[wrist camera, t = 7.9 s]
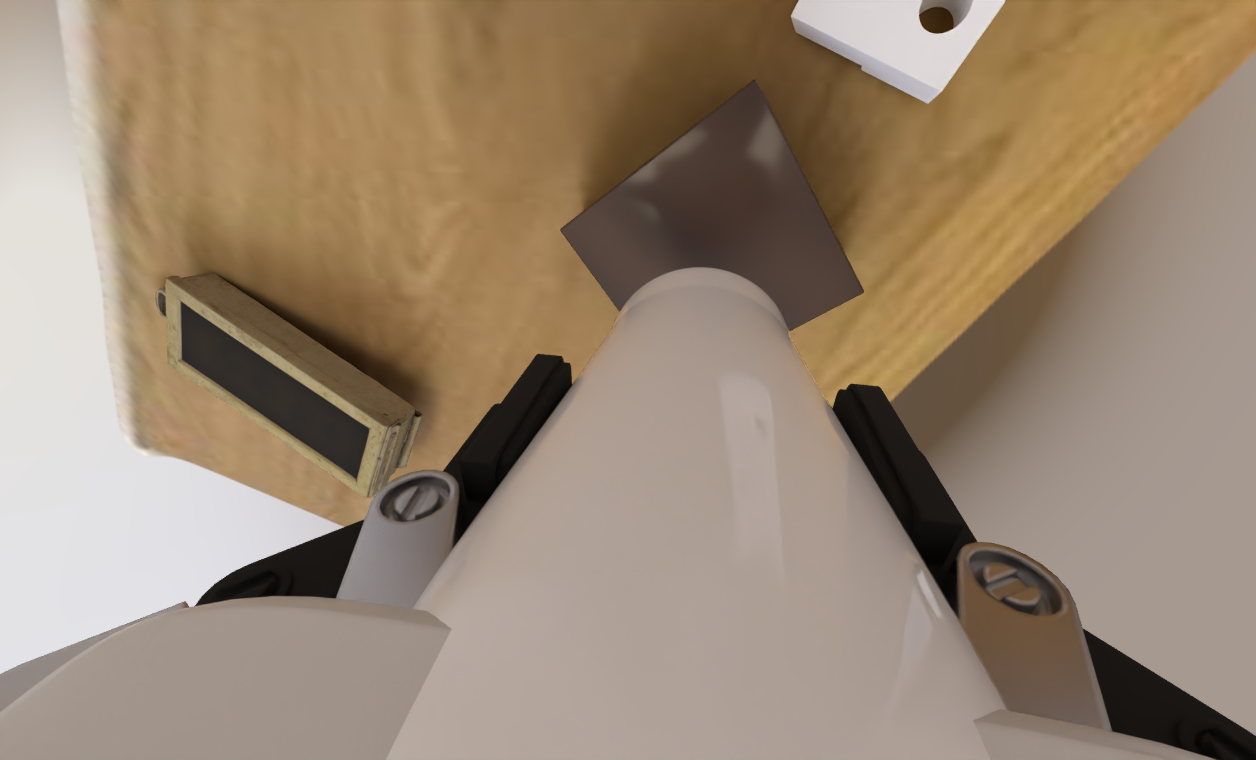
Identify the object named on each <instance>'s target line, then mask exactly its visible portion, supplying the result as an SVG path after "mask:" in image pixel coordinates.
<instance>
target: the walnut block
mask: <svg viewBox="0 0 1256 760" xmlns="http://www.w3.org/2000/svg"><path fill="white" fill-rule="evenodd" d="M560 230H561V232H562V234H563V235H564V236H565V238H566V239H567V240H568V242H569V243H570V244H571V246H572V247H573V249H574V250H575V251H576V253H577V254H578V255H579V257H580V258H581V260H582V261H583V262H584V264H585V265H586V266H587V268H588V269H589V270H590V272H591V273H592V275H593V276H594V277H595V279H596V280H597V281H598V283H599V284H600V286H601V287H602V288H603V290H604V291H605V292H606V294H607V295H608V296H609V298H610V299H611V301H612V302H613V303H614V305H615V306H616V307H617V309H618V310H619V311H620V310H621V309H622V307H623V306H624V305H625V303H626V302H627V301H628V299H629V298H630V297H631V296H632V295H633V294H634V293H635V292H636V291H637V290H638V289H640V288H641V287H642V286H644V285H645V284H646V283H648V282H649V281H651V280H653V279H655V278H656V277H659V276H661V275H663V274H665V273H668V272H671V271H675V270H679V269H684V268H692V267H708V268H716V269H722V270H725V271H729V272H732V273H735V274H738V275H740V276H742V277H744V278H746V279H748V280H749V281H751V282H753V283H754V284H756V285H757V286H758V287H759V288H761V289H762V290H763V291H764V292H765V293H766V294H767V295H768V296H769V297H770V298H771V299H772V300H773V301H774V303H775V304H776V306H777V307H778V309H779V310H780V312H781V313H782V315H783V317H784V319H785V321H786V324H787V327H788V329H789V331H791V330H793V329H795V328H797V327H798V326H800V325H802V324H804V323H806V322H808V321H810V320H812V319H814V318H816V317H818V316H820V315H822V314H824V313H825V312H827V311H829V310H831V309H833V308H835V307H837V306H839V305H841V304H843V303H845V302H847V301H849V300H851V299H852V298H854V297H856V296H858V295H860V294H862V293H863V292H864V290H863V288H862V286H861V284H860V282H859V280H858V278H857V276H856V274H855V272H854V270H853V268H852V266H851V264H850V262H849V261H848V259H847V257H846V255H845V253H844V251H843V249H842V247H841V245H840V243H839V241H838V239H837V237H836V235H835V233H834V231H833V229H832V227H831V225H830V223H829V221H828V220H827V218H826V216H825V214H824V212H823V210H822V208H821V206H820V204H819V202H818V200H817V198H816V196H815V194H814V192H813V190H812V188H811V186H810V184H809V182H808V180H807V179H806V177H805V175H804V173H803V171H802V169H801V167H800V165H799V163H798V161H797V159H796V157H795V155H794V153H793V151H792V149H791V147H790V145H789V143H788V141H787V139H786V138H785V136H784V134H783V132H782V130H781V128H780V126H779V124H778V122H777V120H776V118H775V116H774V114H773V112H772V110H771V108H770V106H769V104H768V102H767V100H766V98H765V96H764V95H763V93H762V91H761V89H760V87H759V85H758V83H757V81H756V80H753V81H751V82H750V83H749V84H747V85H746V86H745V87H744V88H742V89H741V90H740V91H738V92H737V93H736V94H735V95H733V96H732V97H731V98H729V99H728V100H727V101H725V102H724V103H723V104H722V105H720V106H719V107H718V108H716V109H715V110H714V111H713V112H711V113H710V114H709V115H707V116H706V117H705V118H703V119H702V120H701V121H700V122H698V123H697V124H696V125H694V126H693V127H692V128H690V129H689V130H688V131H687V132H685V133H684V134H683V135H681V136H680V137H679V138H678V139H676V140H675V141H674V142H672V143H671V144H670V145H668V146H667V147H666V148H665V149H663V150H662V151H661V152H659V153H658V154H657V155H655V156H654V157H653V158H652V159H650V160H649V161H648V162H646V163H645V164H644V165H643V166H641V167H640V168H639V169H637V170H636V171H635V172H633V173H632V174H631V175H630V176H628V177H627V178H626V179H624V180H623V181H622V182H620V183H619V184H618V185H617V186H615V187H614V188H613V189H611V190H610V191H609V192H608V193H606V194H605V195H604V196H602V197H601V198H600V199H598V200H597V201H596V202H595V203H593V204H592V205H591V206H589V207H588V208H587V209H586V210H584V211H583V212H582V213H580V214H579V215H578V216H576V217H575V218H574V219H573V220H571V221H570V222H569V223H567V224H566V225H565V226H563V227H562V228H561V229H560Z"/></svg>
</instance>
